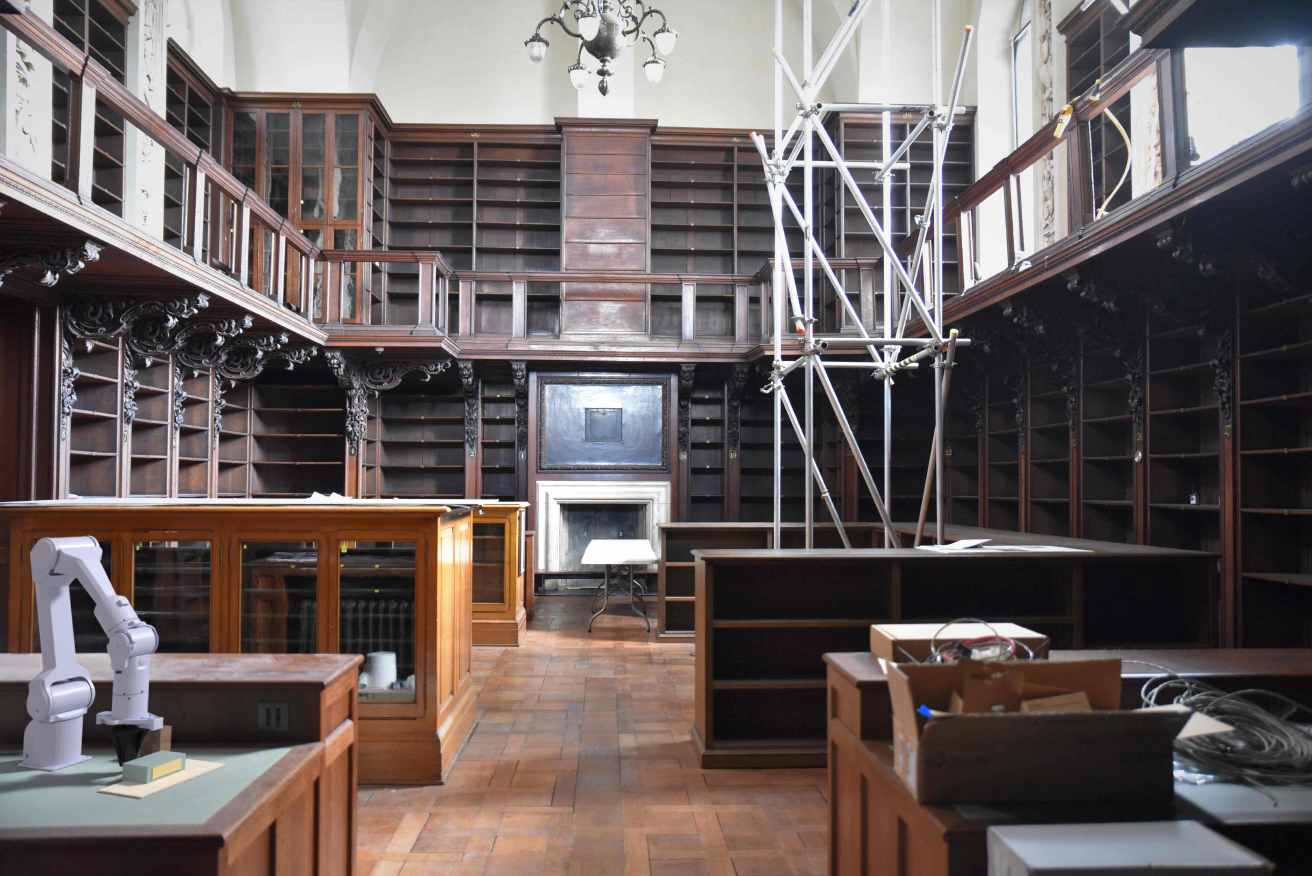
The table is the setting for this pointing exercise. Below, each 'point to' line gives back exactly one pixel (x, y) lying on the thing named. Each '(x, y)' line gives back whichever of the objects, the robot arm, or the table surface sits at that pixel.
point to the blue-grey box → (153, 767)
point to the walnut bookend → (156, 741)
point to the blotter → (162, 780)
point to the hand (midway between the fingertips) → (127, 765)
